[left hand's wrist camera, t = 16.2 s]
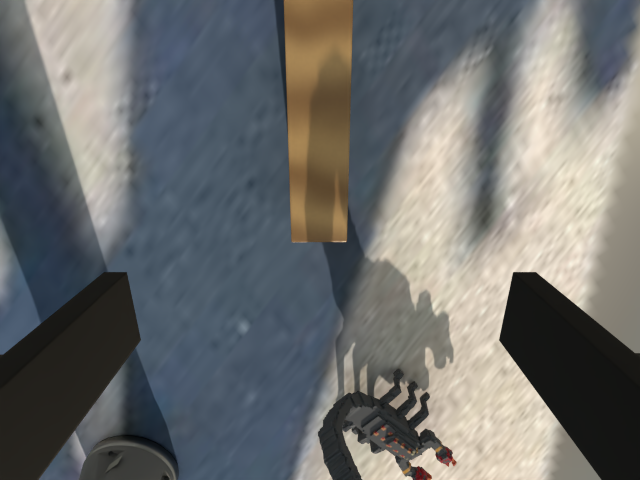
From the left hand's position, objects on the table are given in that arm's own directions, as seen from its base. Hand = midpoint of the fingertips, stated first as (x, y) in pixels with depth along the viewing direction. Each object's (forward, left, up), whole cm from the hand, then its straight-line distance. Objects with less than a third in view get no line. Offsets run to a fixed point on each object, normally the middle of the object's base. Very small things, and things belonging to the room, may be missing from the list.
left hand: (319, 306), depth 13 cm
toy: (-26, -32, -34) cm, 54 cm away
